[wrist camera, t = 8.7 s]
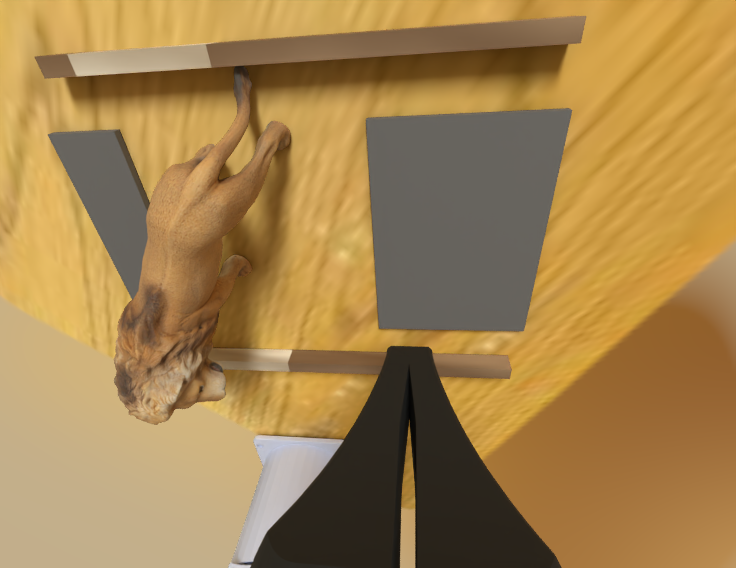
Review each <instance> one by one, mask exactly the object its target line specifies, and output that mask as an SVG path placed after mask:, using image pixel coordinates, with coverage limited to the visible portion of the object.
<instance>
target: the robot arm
mask: <svg viewBox="0 0 736 568" xmlns="http://www.w3.org/2000/svg"><path fill="white" fill-rule="evenodd" d="M409 420H410V432H411V444H412V457H413V469H414V481H415V502H416V505H415V512H416V513H415V517H416V518H415V522H416V523H415V524H416V526H415V527H416V528H415V530H416V531H415V534H416V535H415V536H416V538H415V539H416V540H415V542H416V545H415V546H416V547H415V549H416V551H415V554H416V555H415V556H416V557H415V559H416V560H415V566H416V567H415V568H561V566H560V564H559V562H558V560H557V558H556V556H555V555H554V553H553V552H552V551H551V550H550V549H549V547H548V546H547V545H546V544H545V543H544V542H543V541H542V539H541V538H540V537H539V536H538V535H537V534H536V532H535V531H534V530H533V529H532V528H531V526H530V525H529V524H528V523H527V521H526V520H525V519H524V518H523V516H522V515H521V514H520V513H519V511H518V510H517V509H516V508H515V506H514V505H513V504H512V503H511V501H510V500H509V498H508V497H507V496H506V494H505V493H504V492H503V490H502V489H501V487H500V486H499V484H498V483H497V482H496V480H495V479H494V478H493V476H492V475H491V473H490V472H489V470H488V469H487V467H486V466H485V464H484V463H483V461H482V460H481V458H480V457H479V455H478V453H477V452H476V450H475V449H474V447H473V445H472V444H471V442H470V440H469V438H468V437H467V435H466V433H465V431H464V430H463V428H462V426H461V424H460V422H459V420H458V418H457V416H456V414H455V412H454V410H453V408H452V406H451V404H450V402H449V399H448V397H447V395H446V393H445V390H444V388H443V386H442V383H441V381H440V378H439V375H438V372H437V369H436V366H435V363H434V359H433V354H432V350H431V349H430V348H429V347H410V346H390V347H389V348H388V349H387V354H386V357H385V361H384V364H383V366H382V369H381V372H380V374H379V376H378V379H377V381H376V383H375V385H374V388H373V390H372V392H371V394H370V396H369V398H368V400H367V402H366V404H365V406H364V407H363V409H362V411H361V413H360V415H359V416H358V418H357V420H356V422H355V423H354V425H353V427H352V428H351V430H350V431H349V433H348V435H347V436H346V438H345V439H344V440H342V439H323V438H305V437H286V436H268V435H257V436H255V437H254V444H255V447H256V449H257V452H258V455H259V457H260V460H261V462H262V465H263V470H262V473H261V476H260V478H259V481H258V485H257V487H256V490H255V493H254V496H253V499H252V503H251V506H250V508H249V511H248V514H247V517H246V520H245V523H244V526H243V529H242V532H241V535H240V538H239V541H238V544H237V547H236V550H235V553H234V556H233V559H232V562H231V563H230V564H229V566H228V568H400V533H401V496H402V483H403V473H404V464H405V455H406V445H407V436H408V427H409Z"/></svg>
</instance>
